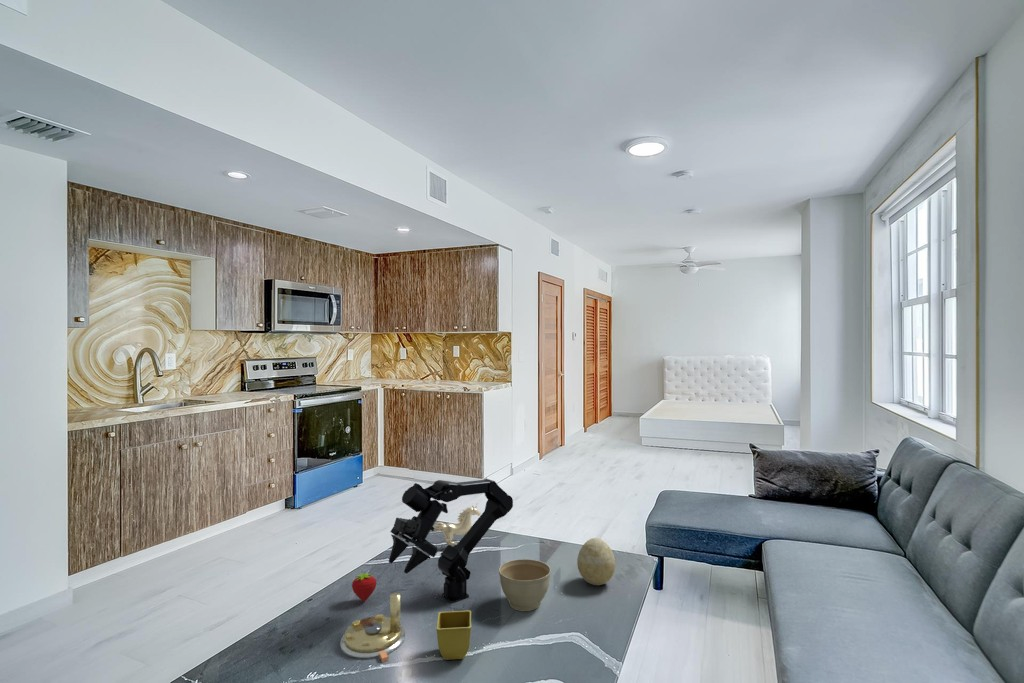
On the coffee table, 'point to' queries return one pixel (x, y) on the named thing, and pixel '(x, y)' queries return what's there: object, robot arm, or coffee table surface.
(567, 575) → the coffee table surface
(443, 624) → the flower pot
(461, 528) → the unicorn
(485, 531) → the robot arm
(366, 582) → the strawberry
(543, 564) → the planter bowl
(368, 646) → the crank disc
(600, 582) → the fossilized egg
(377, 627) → the base plate
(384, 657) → the tab
